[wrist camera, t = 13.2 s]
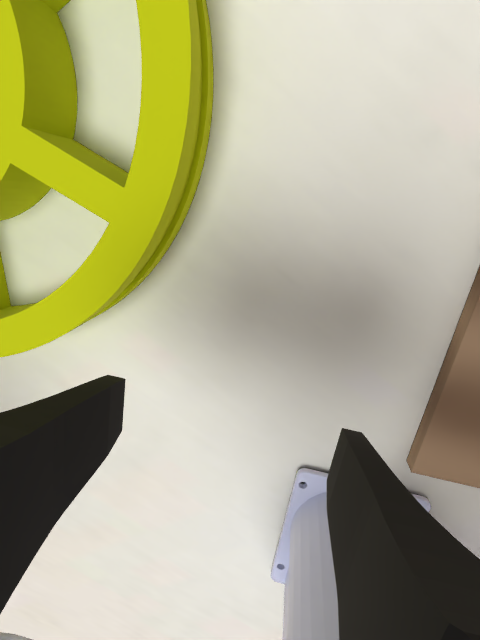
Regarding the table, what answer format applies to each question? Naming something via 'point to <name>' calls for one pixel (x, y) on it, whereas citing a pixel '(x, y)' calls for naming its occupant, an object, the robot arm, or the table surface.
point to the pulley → (90, 168)
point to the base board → (454, 407)
